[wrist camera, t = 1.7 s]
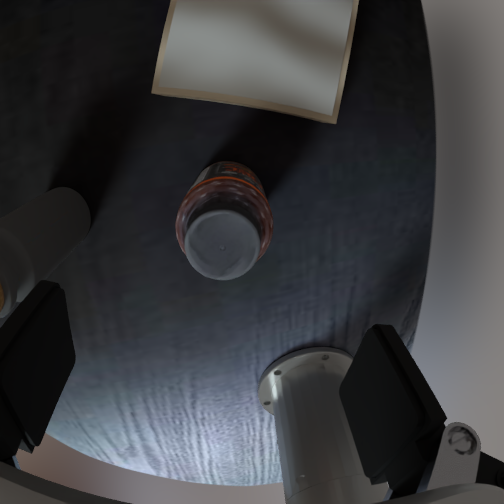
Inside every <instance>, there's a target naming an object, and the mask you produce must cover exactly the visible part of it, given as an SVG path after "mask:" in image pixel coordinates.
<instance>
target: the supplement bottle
mask: <svg viewBox="0 0 504 504" xmlns="http://www.w3.org/2000/svg"><path fill="white" fill-rule="evenodd" d="M272 234H273V217H272V213H271V210H270V206H269V203H268V201H267V198H266V195H265V192H264V189H263V187H262V184H261V182H260V180H259V178H258V177H257V176H256V174H255V173H254V172H253V171H252V170H251V169H249V168H248V167H247V166H245V165H243V164H240V163H237V162H233V161H223V162H217V163H214V164H212V165H210V166H208V167H207V168H206V169H204V170H203V171H202V172H201V173H200V174H199V175H198V177H197V178H196V180H195V181H194V183H193V185H192V186H191V188H190V190H189V191H188V193H187V195H186V196H185V198H184V200H183V201H182V203H181V205H180V207H179V210H178V214H177V218H176V235H177V239H178V242H179V245H180V247H181V249H182V250H183V252H184V253H185V254H186V256H187V258H188V260H189V262H190V264H191V265H192V266H193V267H194V269H196V270H197V271H198V272H199V273H201V274H202V275H204V276H206V277H209V278H212V279H216V280H230V279H234V278H237V277H239V276H242V275H243V274H245V273H246V272H248V271H249V270H250V269H251V268H252V267H253V265H254V264H255V263H256V262H257V261H258V260H259V259H260V258H261V257H262V255H263V254H264V253H265V251H266V250H267V248H268V246H269V244H270V241H271V238H272Z"/></svg>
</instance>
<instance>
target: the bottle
mask: <svg viewBox="0 0 504 504" xmlns="http://www.w3.org/2000/svg"><path fill="white" fill-rule="evenodd" d="M90 224H91V217H90V211H89V208H88V205H87V203H86V201H85V200H84V198H83V197H82V196H81V195H80V194H79V193H78V192H76V191H75V190H73V189H71V188H67V187H58V188H55V189H52V190H50V191H48V192H46V193H44V194H42V195H41V196H39V197H37V198H35V199H33V200H31V201H30V202H28V203H26V204H24V205H23V206H21V207H19V208H17V209H16V210H14V211H12V212H11V213H9V214H8V215H6V216H4V217H3V218H1V219H0V318H3V317H4V316H6V315H7V314H8V313H9V312H10V311H11V310H12V309H13V307H14V306H15V304H16V302H21V301H23V300H24V298H25V297H26V296H27V295H28V294H29V293H30V291H31V290H32V289H33V288H34V287H35V286H36V285H37V283H38V282H39V281H41V280H45V279H46V278H47V277H48V276H49V275H50V274H51V273H52V272H53V271H54V270H55V269H56V267H57V266H58V265H59V264H60V263H61V262H62V261H63V260H64V259H65V258H66V257H67V256H68V255H69V254H70V253H71V252H72V251H73V250H74V249H75V248H76V247H77V246H78V245H79V244H80V243H81V241H82V240H83V239H84V238H85V237H86V235H87V234H88V232H89V229H90Z"/></svg>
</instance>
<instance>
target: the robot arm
mask: <svg viewBox="0 0 504 504" xmlns="http://www.w3.org/2000/svg"><path fill="white" fill-rule="evenodd" d="M75 359H76V355H75V350H74V345H73V340H72V335H71V329H70V324H69V318H68V311H67V305H66V298H65V292H64V290H63V289H61V288H60V285H59V284H58V283H55V282H51V281H46V280H41V281H39V282H38V283H37V285H36V286H35V287H34V288H33V289H32V290H31V291H30V293H29V294H28V295H27V296H26V297H25V298H24V300H23V301H22V302H21V303H20V304H19V306H18V307H17V308H16V309H15V311H14V312H13V313H12V314H11V315H10V317H9V318H8V319H7V320H6V322H5V323H4V324H3V326H2V327H1V328H0V504H131V503H126V502H121V501H117V500H112V499H108V498H104V497H100V496H96V495H93V494H89V493H86V492H82V491H79V490H76V489H72V488H69V487H66V486H63V485H60V484H57V483H54V482H51V481H48V480H45V479H42V478H40V477H37V476H34V475H32V474H29V473H27V472H24V471H22V470H21V469H20V467H19V464H18V461H17V458H16V456H15V455H16V453H17V450H18V448H19V449H22V450H24V451H26V452H29V453H32V452H33V450H34V447H35V446H39V445H40V443H41V441H42V439H43V436H44V434H45V431H46V428H47V426H48V424H49V421H50V419H51V416H52V414H53V411H54V409H55V407H56V404H57V402H58V400H59V397H60V395H61V393H62V391H63V388H64V386H65V384H66V382H67V380H68V377H69V375H70V373H71V371H72V369H73V367H74V364H75ZM258 398H259V401H260V403H261V405H262V406H263V408H264V409H265V410H266V411H268V412H269V413H271V414H272V415H274V419H275V426H276V434H277V444H278V449H279V456H280V464H281V471H282V479H283V486H284V494H285V501H286V504H504V463H503V462H502V461H499V460H497V459H495V458H493V457H491V456H489V455H487V454H485V453H483V452H481V451H480V450H481V443H480V439H479V437H478V435H477V433H476V432H475V431H474V430H473V429H472V428H471V427H470V426H468V425H466V424H464V423H460V422H454V423H451V424H449V425H448V426H446V427H445V425H444V422H445V421H446V419H447V417H446V415H445V413H444V411H443V410H442V408H441V406H440V404H439V402H438V400H437V399H436V397H435V395H434V393H433V392H432V390H431V388H430V387H429V385H428V383H427V381H426V380H425V378H424V376H423V374H422V373H421V371H420V369H419V368H418V366H417V365H416V363H415V361H414V359H413V358H412V356H411V355H410V353H409V351H408V350H407V348H406V346H405V345H404V343H403V342H402V340H401V338H400V337H399V335H398V334H397V332H396V330H395V329H394V327H393V326H392V325H382V324H375V325H373V326H372V328H370V329H368V330H367V332H366V334H365V336H364V338H363V340H362V342H361V344H360V347H359V349H358V351H357V353H356V355H355V357H354V358H353V357H352V356H351V355H350V354H348V353H346V352H344V351H342V350H339V349H336V348H331V347H312V348H307V349H302V350H298V351H295V352H292V353H290V354H288V355H286V356H284V357H282V358H280V359H279V360H277V361H275V362H274V363H273V364H272V365H271V366H269V367H268V368H267V369H266V371H265V372H264V373H263V375H262V376H261V378H260V380H259V383H258ZM387 482H388V484H387ZM388 485H389V487H388Z"/></svg>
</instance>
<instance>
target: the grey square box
mask: <svg viewBox="0 0 504 504" xmlns="http://www.w3.org/2000/svg"><path fill="white" fill-rule="evenodd" d="M358 3H359V0H171V3H170V7H169V11H168V15H167V19H166V23H165V27H164V32H163V36H162V41H161V45H160V50H159V55H158V60H157V65H156V70H155V75H154V81H153V87H152V93H153V94H158V95H162V96H171V97H181V98H190V99H199V100H207V101H214V102H221V103H228V104H235V105H241V106H247V107H253V108H258V109H264V110H269V111H274V112H279V113H284V114H289V115H293V116H298V117H302V118H307V119H311V120H315V121H319V122H325V123H332V124H336V121H337V117H338V112H339V107H340V102H341V97H342V92H343V87H344V82H345V77H346V72H347V67H348V61H349V56H350V50H351V45H352V39H353V33H354V27H355V21H356V15H357V9H358Z"/></svg>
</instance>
